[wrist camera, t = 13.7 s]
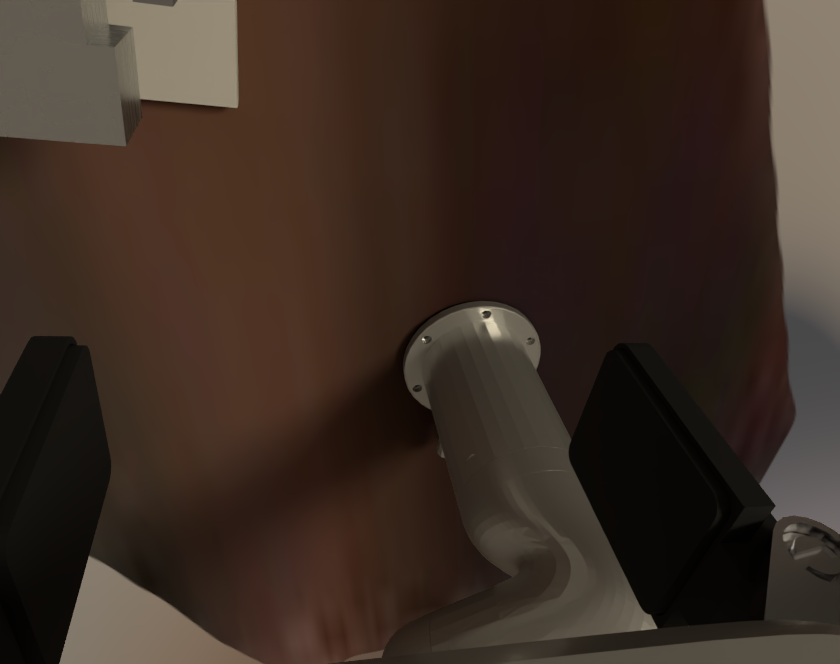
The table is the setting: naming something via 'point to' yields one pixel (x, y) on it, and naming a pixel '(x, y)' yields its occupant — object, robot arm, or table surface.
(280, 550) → the table surface
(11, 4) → the grey upright bar
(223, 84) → the rack
